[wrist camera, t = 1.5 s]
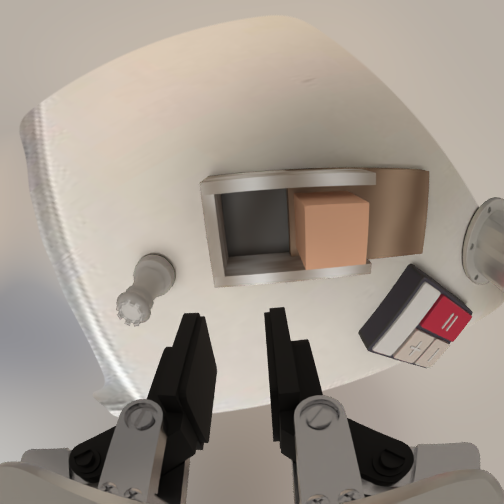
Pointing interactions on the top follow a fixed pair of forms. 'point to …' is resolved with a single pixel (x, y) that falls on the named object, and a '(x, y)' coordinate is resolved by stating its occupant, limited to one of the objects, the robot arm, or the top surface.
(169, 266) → the rook chess piece
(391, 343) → the calculator
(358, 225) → the block
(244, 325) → the top surface
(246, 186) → the metal sorting tray
